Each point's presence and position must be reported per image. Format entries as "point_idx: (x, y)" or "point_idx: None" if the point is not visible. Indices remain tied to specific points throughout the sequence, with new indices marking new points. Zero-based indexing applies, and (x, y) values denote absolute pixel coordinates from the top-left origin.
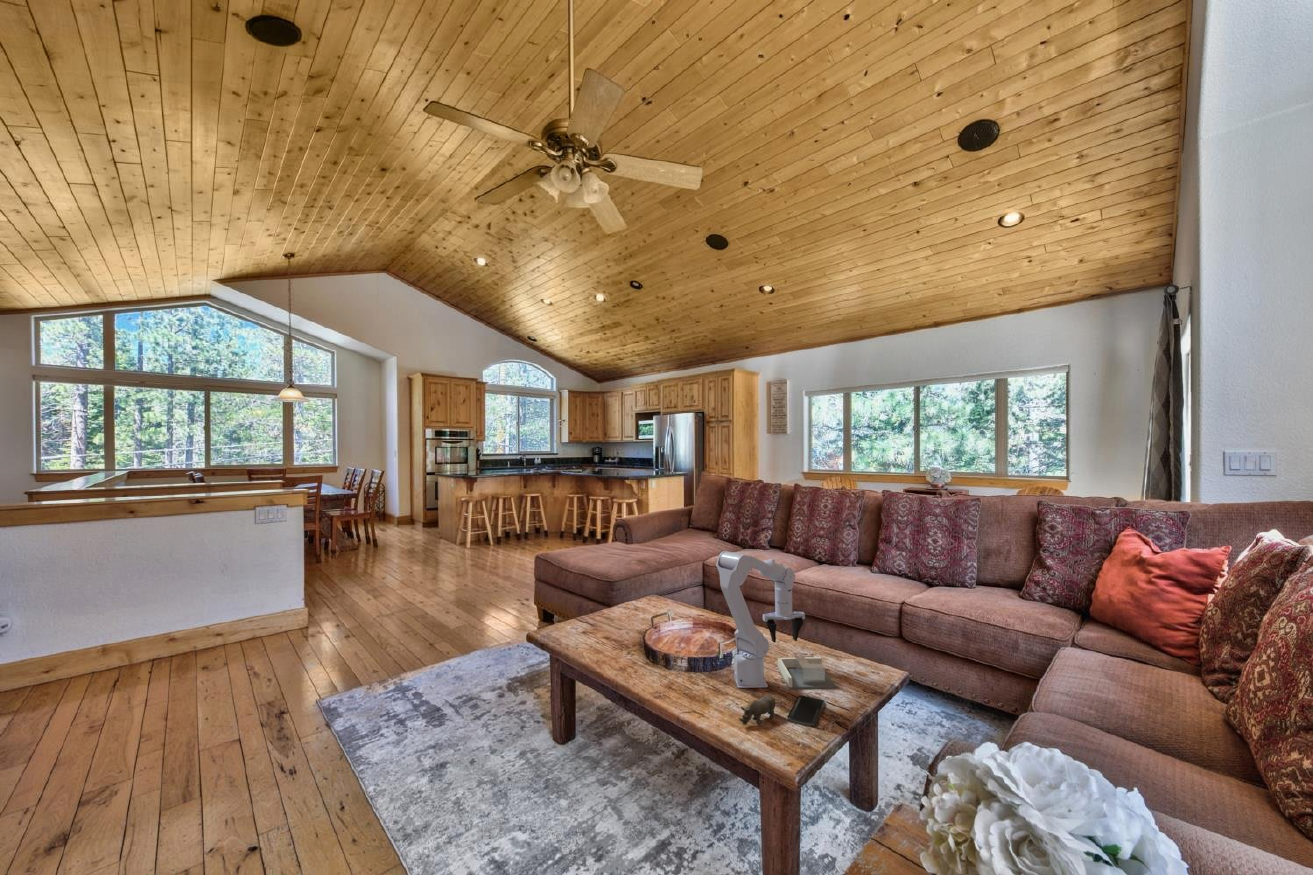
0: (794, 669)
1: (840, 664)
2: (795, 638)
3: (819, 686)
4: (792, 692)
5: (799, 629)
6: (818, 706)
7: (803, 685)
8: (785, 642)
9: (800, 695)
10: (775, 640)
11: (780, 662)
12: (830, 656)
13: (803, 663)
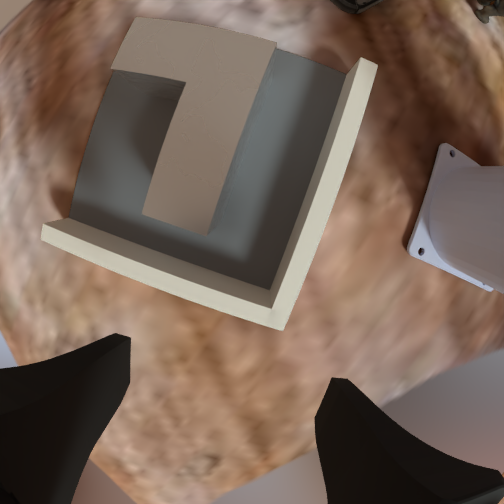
0: (212, 242)
1: (3, 225)
2: (120, 344)
3: None
4: (359, 55)
5: (27, 367)
6: None
7: (281, 64)
8: (118, 460)
9: (352, 6)
10: (343, 384)
11: (306, 266)
12: (8, 302)
13: (223, 98)
